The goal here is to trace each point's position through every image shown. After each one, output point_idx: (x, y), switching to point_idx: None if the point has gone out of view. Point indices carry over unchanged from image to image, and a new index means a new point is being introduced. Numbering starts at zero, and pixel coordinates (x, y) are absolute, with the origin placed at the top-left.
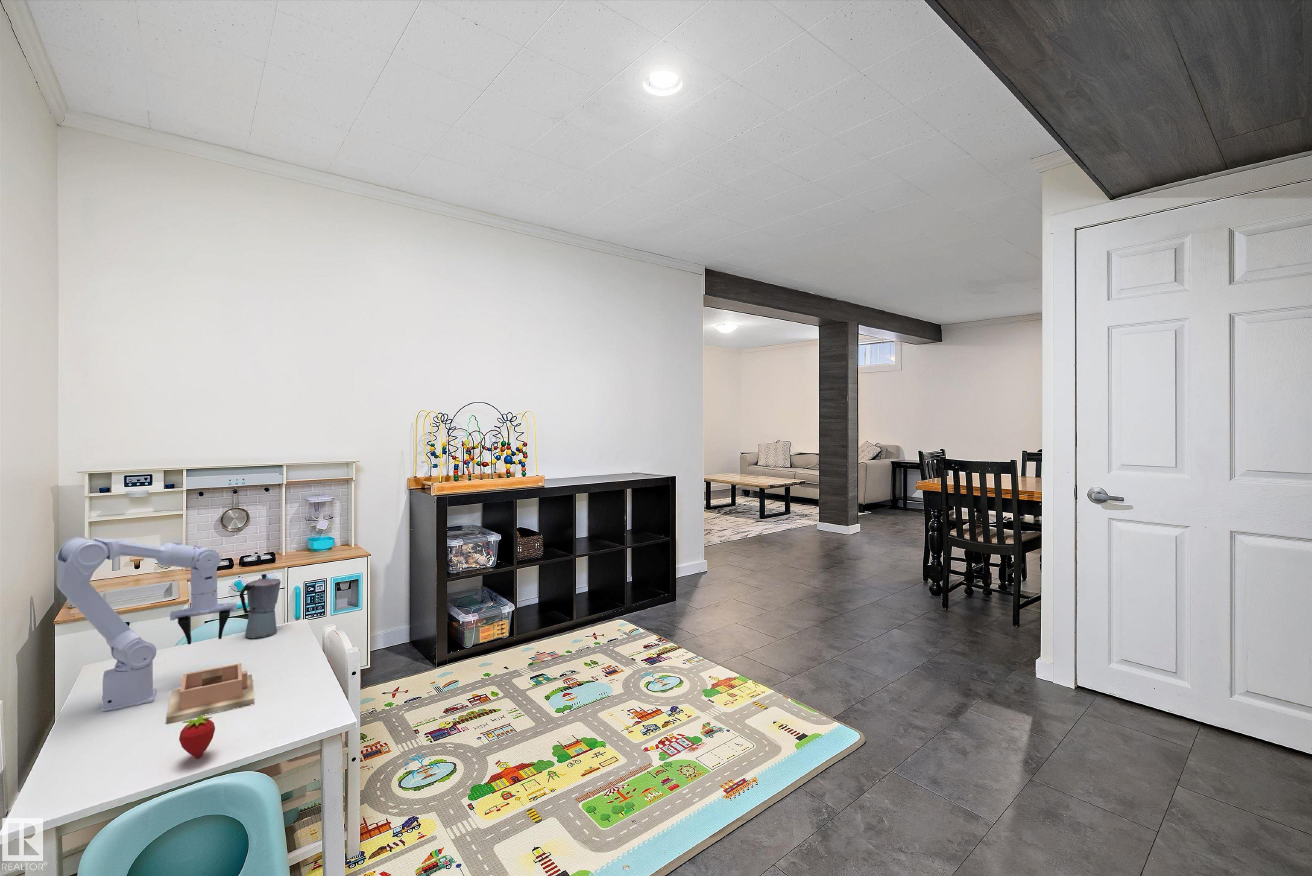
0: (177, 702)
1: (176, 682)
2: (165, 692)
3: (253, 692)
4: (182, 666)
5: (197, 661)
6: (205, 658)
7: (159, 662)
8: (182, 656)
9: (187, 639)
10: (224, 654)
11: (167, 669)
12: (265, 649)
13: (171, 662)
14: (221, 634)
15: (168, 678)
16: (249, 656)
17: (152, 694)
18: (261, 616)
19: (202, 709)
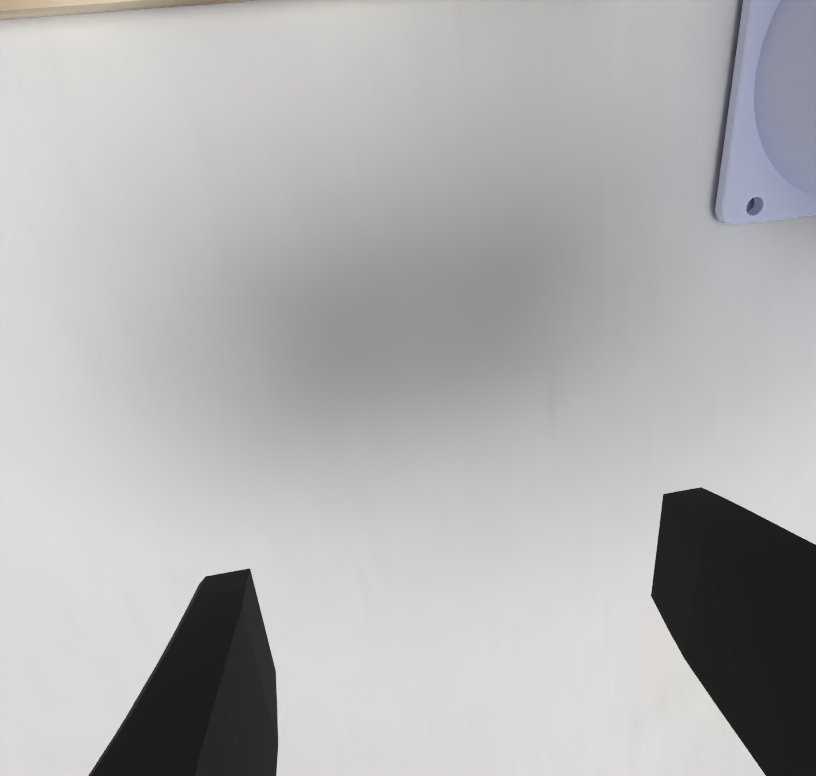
0: None
1: (578, 329)
2: (653, 122)
3: None
4: (549, 618)
5: (469, 669)
6: (427, 701)
7: (664, 710)
8: (555, 759)
9: (779, 532)
10: (317, 733)
11: (629, 598)
12: (31, 750)
13: (607, 694)
14: (176, 631)
15: (626, 439)
16: (120, 658)
17: (763, 49)
18: None
19: None
